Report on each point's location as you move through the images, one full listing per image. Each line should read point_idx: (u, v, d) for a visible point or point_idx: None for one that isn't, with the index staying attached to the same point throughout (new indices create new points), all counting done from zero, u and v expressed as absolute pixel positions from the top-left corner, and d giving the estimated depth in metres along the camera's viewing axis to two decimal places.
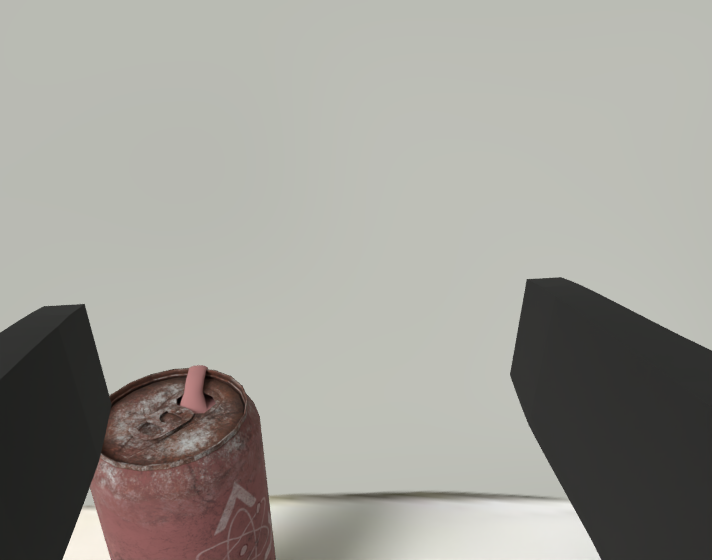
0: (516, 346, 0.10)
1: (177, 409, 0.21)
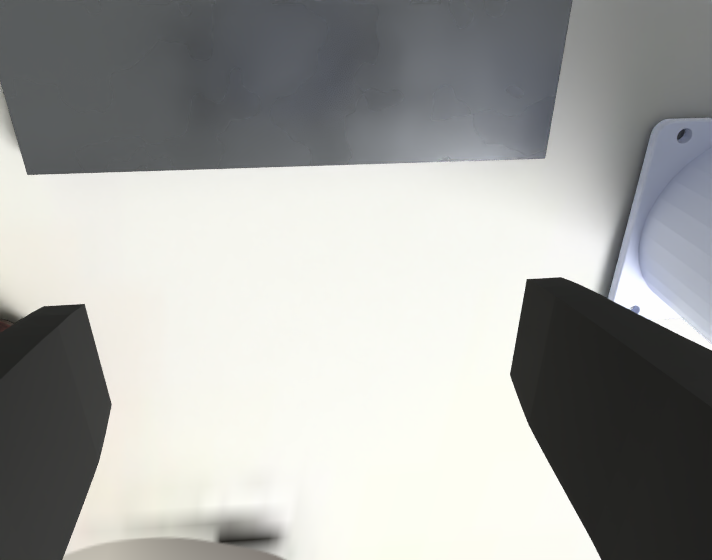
0: (516, 346, 0.10)
1: None
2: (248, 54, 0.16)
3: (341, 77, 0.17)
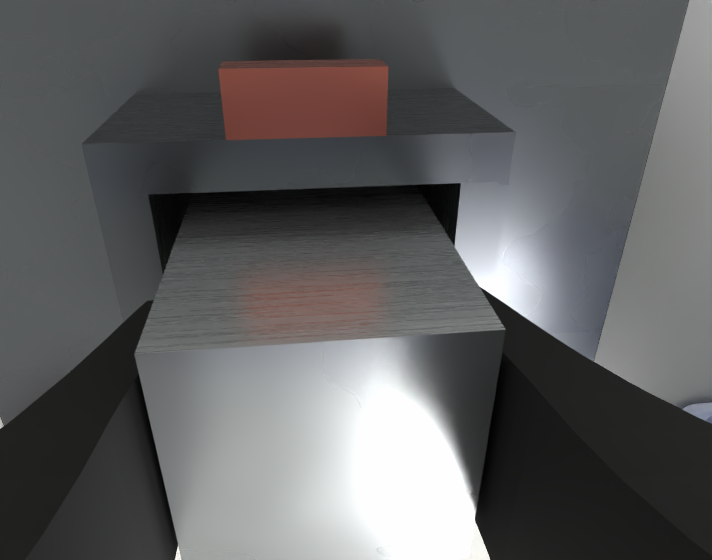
0: None
1: None
2: None
3: None
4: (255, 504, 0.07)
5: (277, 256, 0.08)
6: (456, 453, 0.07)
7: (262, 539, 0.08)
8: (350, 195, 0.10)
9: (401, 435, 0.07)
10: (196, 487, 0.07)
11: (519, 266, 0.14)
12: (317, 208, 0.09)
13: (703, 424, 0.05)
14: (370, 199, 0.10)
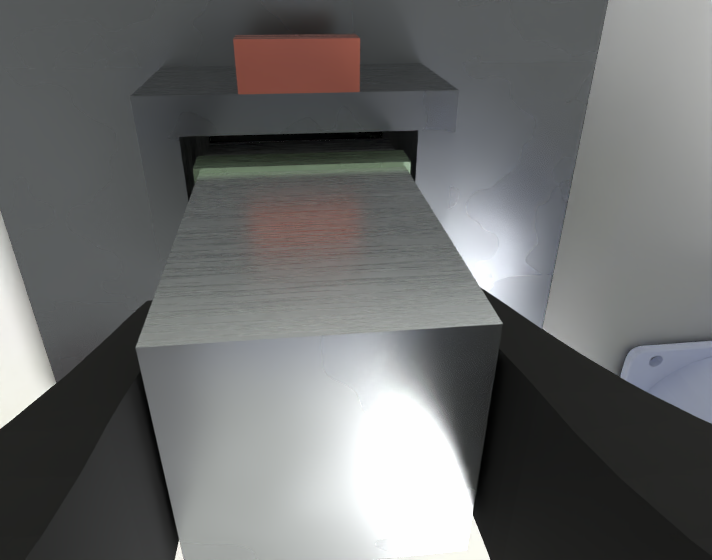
0: None
1: None
2: None
3: None
4: (255, 497, 0.07)
5: (277, 252, 0.08)
6: (454, 447, 0.07)
7: (262, 532, 0.08)
8: (349, 192, 0.10)
9: (399, 429, 0.07)
10: (196, 480, 0.07)
11: (480, 215, 0.17)
12: (317, 204, 0.09)
13: (703, 424, 0.05)
14: (368, 195, 0.10)
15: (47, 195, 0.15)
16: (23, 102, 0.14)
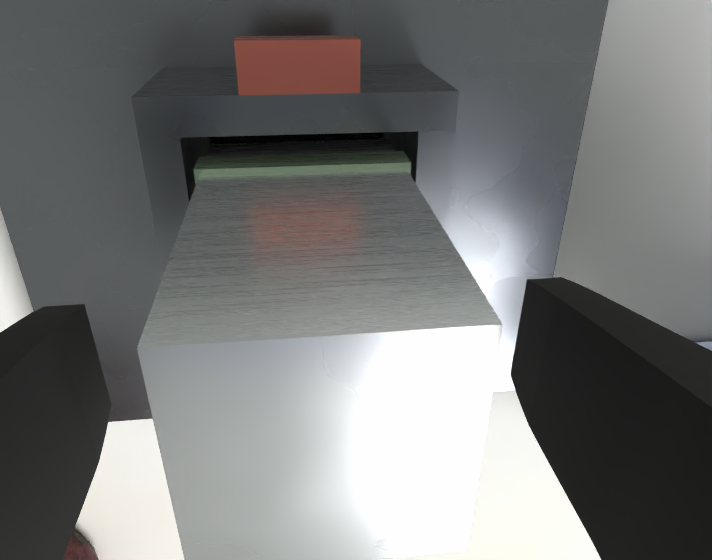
0: (516, 346, 0.10)
1: None
2: None
3: None
4: (256, 497, 0.07)
5: (278, 252, 0.08)
6: (454, 447, 0.07)
7: (263, 532, 0.08)
8: (350, 193, 0.10)
9: (400, 429, 0.07)
10: (197, 480, 0.07)
11: (480, 216, 0.17)
12: (317, 205, 0.09)
13: None
14: (369, 196, 0.10)
15: (48, 196, 0.15)
16: (24, 103, 0.14)
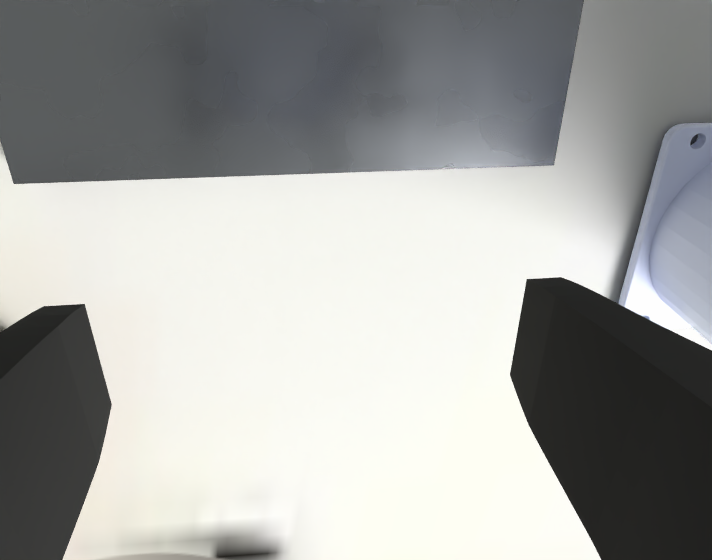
0: (516, 346, 0.10)
1: None
2: (244, 57, 0.15)
3: (342, 81, 0.16)
4: None
5: None
6: None
7: None
8: None
9: None
10: None
11: None
12: None
13: None
14: None
15: None
16: None
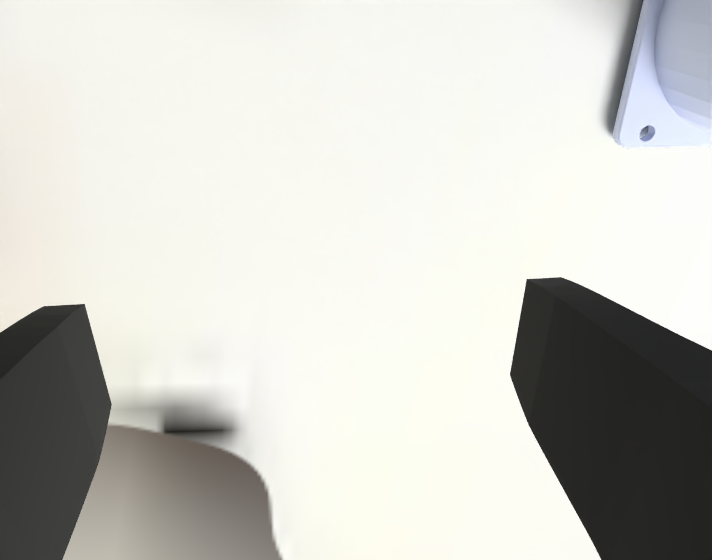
0: (516, 346, 0.10)
1: None
2: None
3: None
4: None
5: None
6: None
7: None
8: None
9: None
10: None
11: None
12: None
13: None
14: None
15: None
16: None
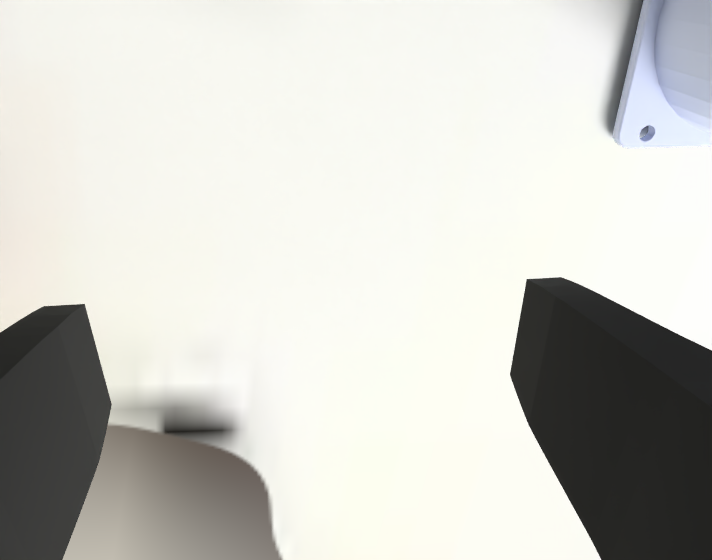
0: (516, 346, 0.10)
1: None
2: None
3: None
4: None
5: None
6: None
7: None
8: None
9: None
10: None
11: None
12: None
13: None
14: None
15: None
16: None
